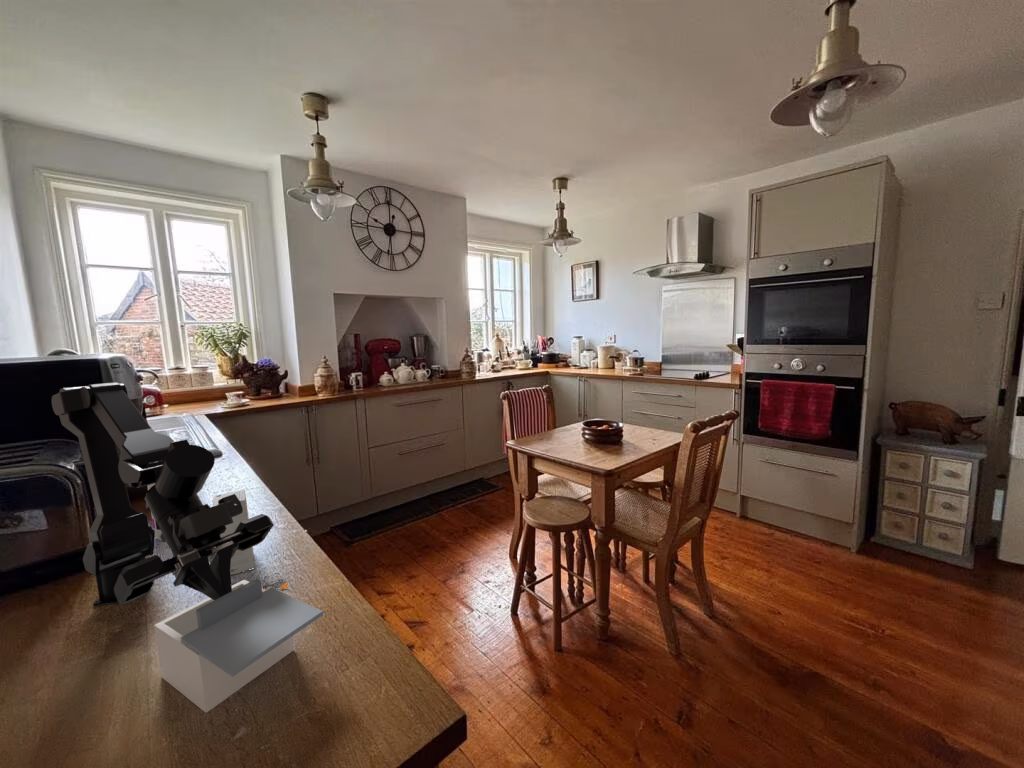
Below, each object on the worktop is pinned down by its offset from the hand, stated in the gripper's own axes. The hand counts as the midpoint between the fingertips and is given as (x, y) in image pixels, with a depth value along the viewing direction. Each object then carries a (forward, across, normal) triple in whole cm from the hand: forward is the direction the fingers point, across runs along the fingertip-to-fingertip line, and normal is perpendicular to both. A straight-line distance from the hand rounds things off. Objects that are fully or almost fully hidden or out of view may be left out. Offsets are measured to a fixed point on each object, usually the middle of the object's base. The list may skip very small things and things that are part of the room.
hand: (228, 603), depth 60 cm
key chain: (-2, +13, +16) cm, 21 cm away
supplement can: (-33, +16, +47) cm, 60 cm away
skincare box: (-13, +15, +27) cm, 34 cm away
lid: (+6, 0, -3) cm, 6 cm away
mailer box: (+6, 0, +8) cm, 10 cm away
